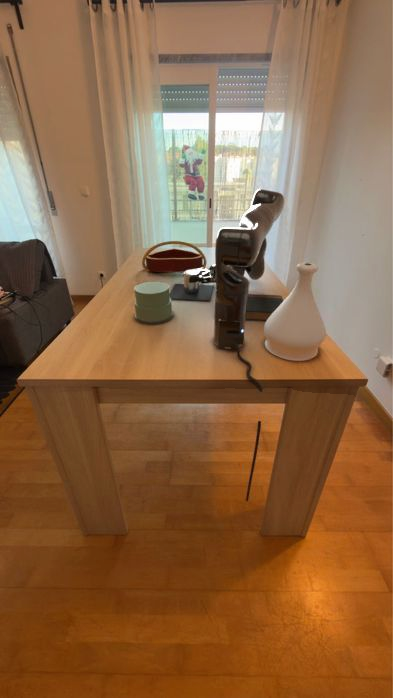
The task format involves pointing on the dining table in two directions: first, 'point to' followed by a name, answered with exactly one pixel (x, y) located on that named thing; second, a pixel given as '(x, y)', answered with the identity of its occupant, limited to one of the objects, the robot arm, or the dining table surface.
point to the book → (262, 306)
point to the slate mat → (201, 295)
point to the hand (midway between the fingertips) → (186, 277)
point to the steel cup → (187, 285)
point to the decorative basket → (173, 259)
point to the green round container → (153, 303)
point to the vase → (296, 321)
